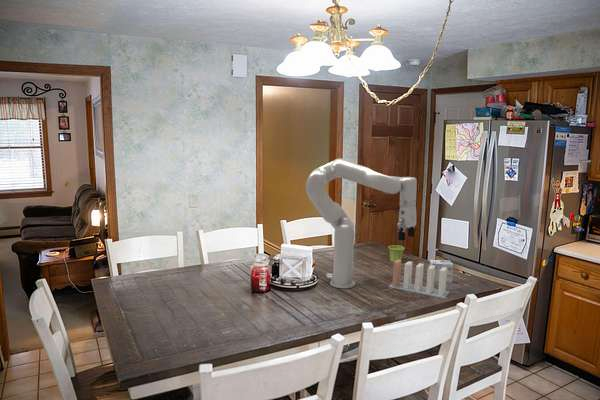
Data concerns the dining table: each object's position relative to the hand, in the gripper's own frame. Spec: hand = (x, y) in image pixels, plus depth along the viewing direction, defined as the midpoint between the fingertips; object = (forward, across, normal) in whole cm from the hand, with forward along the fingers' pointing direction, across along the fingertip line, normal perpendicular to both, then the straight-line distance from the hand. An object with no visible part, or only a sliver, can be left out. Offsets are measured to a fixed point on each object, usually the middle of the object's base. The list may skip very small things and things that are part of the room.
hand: (406, 238), depth 216 cm
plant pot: (+25, +38, +25) cm, 52 cm away
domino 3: (+24, +1, -7) cm, 25 cm away
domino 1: (+24, -1, +4) cm, 24 cm away
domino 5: (+24, +2, -18) cm, 30 cm away
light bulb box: (+26, +21, -9) cm, 35 cm away
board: (+25, +1, -7) cm, 26 cm away
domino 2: (+24, 0, -1) cm, 24 cm away
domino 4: (+24, +2, -12) cm, 27 cm away
